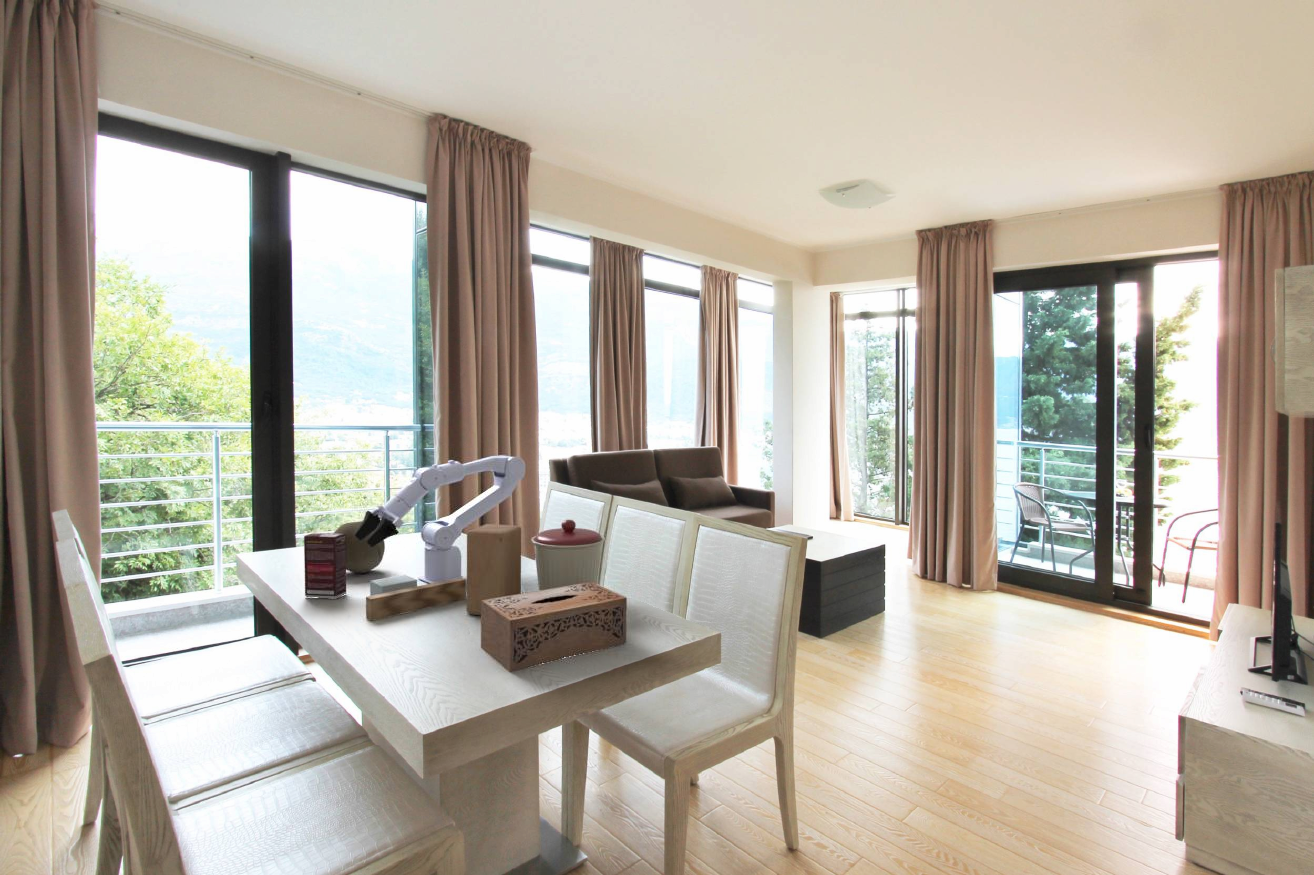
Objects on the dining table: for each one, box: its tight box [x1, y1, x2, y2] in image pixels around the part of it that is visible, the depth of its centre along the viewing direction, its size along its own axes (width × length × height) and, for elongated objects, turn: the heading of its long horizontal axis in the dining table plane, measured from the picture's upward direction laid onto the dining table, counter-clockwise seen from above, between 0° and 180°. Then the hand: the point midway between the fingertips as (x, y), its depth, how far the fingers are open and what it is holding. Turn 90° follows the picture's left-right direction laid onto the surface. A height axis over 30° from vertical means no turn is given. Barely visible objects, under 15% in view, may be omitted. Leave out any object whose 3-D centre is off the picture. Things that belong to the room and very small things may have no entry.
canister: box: [530, 519, 606, 591], centre depth 160 cm, size 18×18×21 cm
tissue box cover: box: [480, 582, 628, 673], centre depth 132 cm, size 26×14×10 cm, turn 126°
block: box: [369, 574, 418, 596], centre depth 163 cm, size 9×7×4 cm
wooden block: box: [466, 523, 522, 616], centre depth 154 cm, size 10×10×20 cm
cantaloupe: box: [333, 520, 386, 574], centre depth 185 cm, size 14×14×15 cm
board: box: [365, 578, 467, 622], centre depth 155 cm, size 24×2×5 cm, turn 137°
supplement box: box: [303, 532, 347, 600], centre depth 162 cm, size 9×5×16 cm, turn 84°
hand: (362, 541), depth 166 cm, fingers open, 7 cm apart
